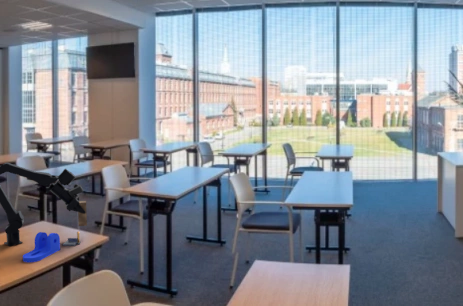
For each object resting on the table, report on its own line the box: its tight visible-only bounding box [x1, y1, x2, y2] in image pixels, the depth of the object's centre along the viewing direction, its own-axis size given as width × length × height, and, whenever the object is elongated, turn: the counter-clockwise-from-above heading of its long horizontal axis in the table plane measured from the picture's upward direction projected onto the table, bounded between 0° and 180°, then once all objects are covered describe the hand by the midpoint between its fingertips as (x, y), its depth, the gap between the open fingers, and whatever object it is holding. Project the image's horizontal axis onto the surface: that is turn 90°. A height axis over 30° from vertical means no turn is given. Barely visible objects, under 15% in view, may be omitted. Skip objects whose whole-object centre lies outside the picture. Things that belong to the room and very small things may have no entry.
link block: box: [77, 200, 88, 227], centre depth 231 cm, size 4×4×12 cm
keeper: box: [62, 231, 82, 247], centre depth 221 cm, size 7×6×6 cm
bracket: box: [22, 231, 61, 263], centre depth 204 cm, size 18×8×9 cm, turn 167°
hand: (85, 212), depth 231 cm, fingers closed on link block, 4 cm apart
